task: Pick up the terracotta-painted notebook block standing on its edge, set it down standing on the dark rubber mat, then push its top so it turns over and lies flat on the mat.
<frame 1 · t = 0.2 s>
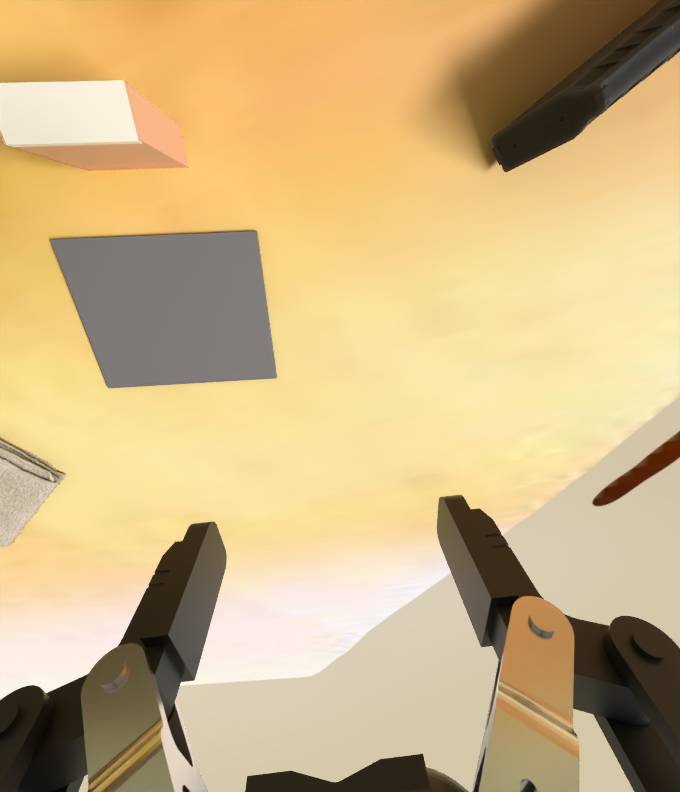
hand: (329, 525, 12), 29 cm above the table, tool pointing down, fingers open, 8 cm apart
mat: (177, 315, 36), on the table
washcloth: (2, 484, 45), on the table
notebook: (134, 149, 29), on the table
magazine: (646, 35, 28), on the table
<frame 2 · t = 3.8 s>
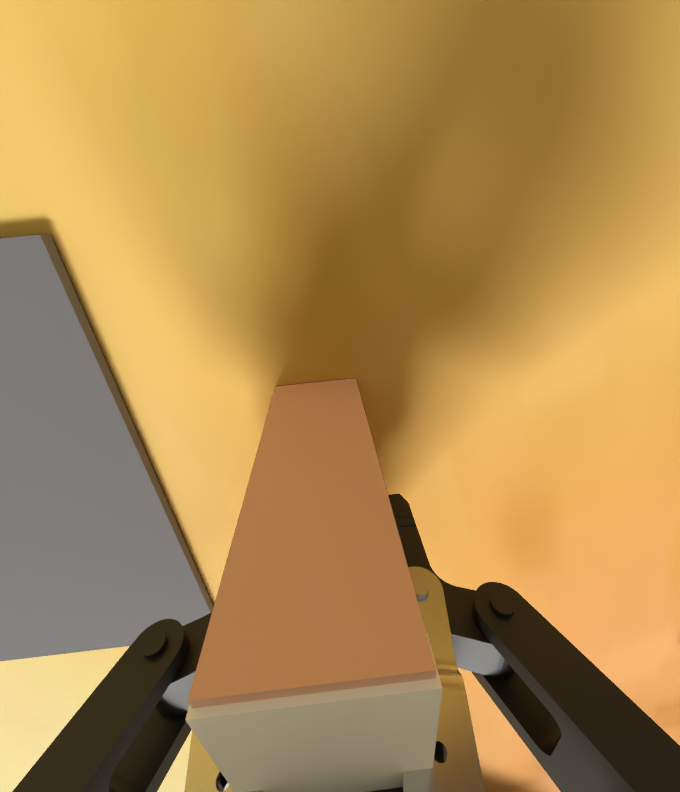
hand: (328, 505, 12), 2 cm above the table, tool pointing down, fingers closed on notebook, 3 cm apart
notebook: (327, 476, 14), on the table, touching gripper
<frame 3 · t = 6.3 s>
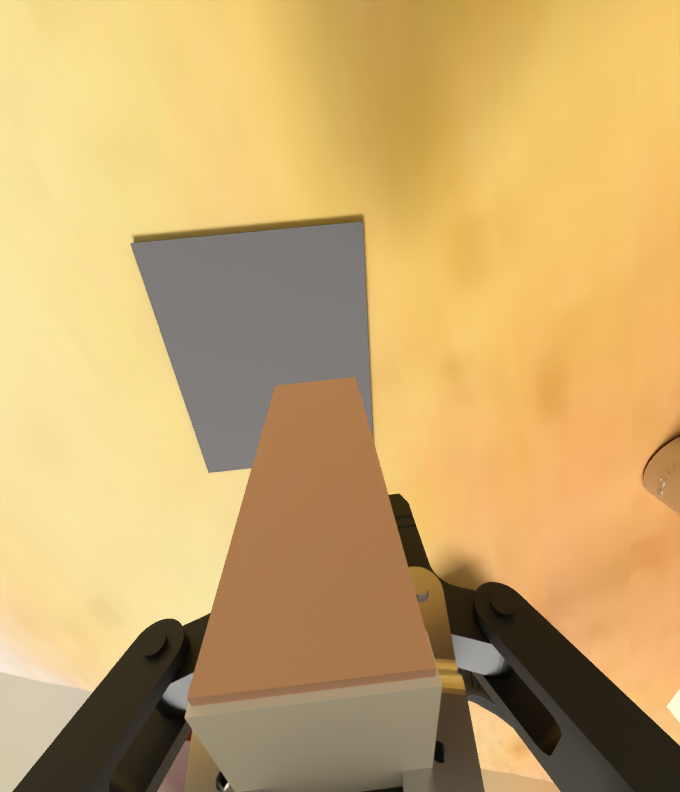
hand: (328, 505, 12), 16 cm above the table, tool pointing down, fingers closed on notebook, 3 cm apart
mat: (273, 365, 27), on the table
notebook: (327, 475, 14), point 15 cm above the table, touching gripper
magazine: (473, 634, 48), on the table
when the fingers open (3 cm above the table, at t = 8.9 s): notebook stays where it is, resting on mat.
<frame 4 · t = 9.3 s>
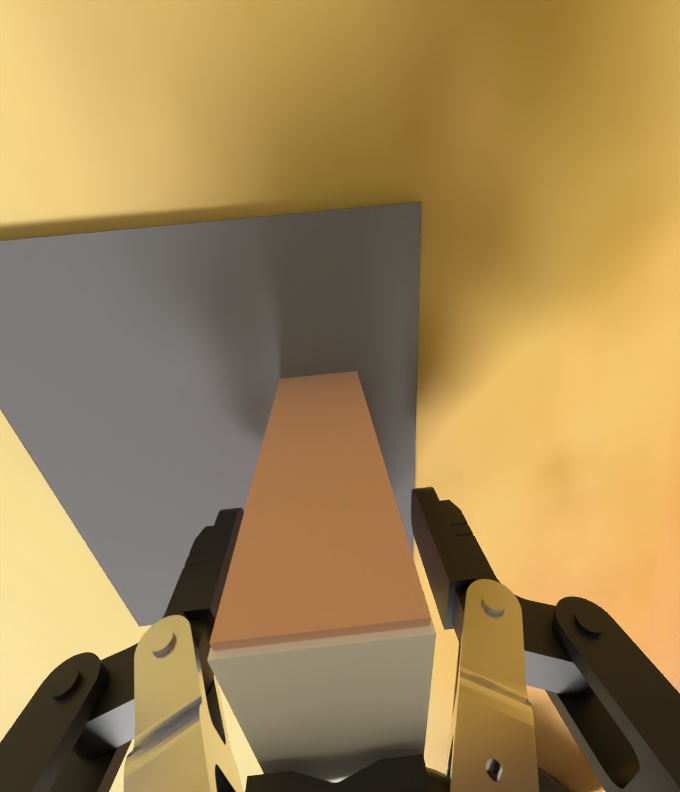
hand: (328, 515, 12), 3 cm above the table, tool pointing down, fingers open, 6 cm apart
mat: (239, 472, 15), on the table
notebook: (329, 467, 14), resting on mat
magazine: (527, 769, 36), on the table
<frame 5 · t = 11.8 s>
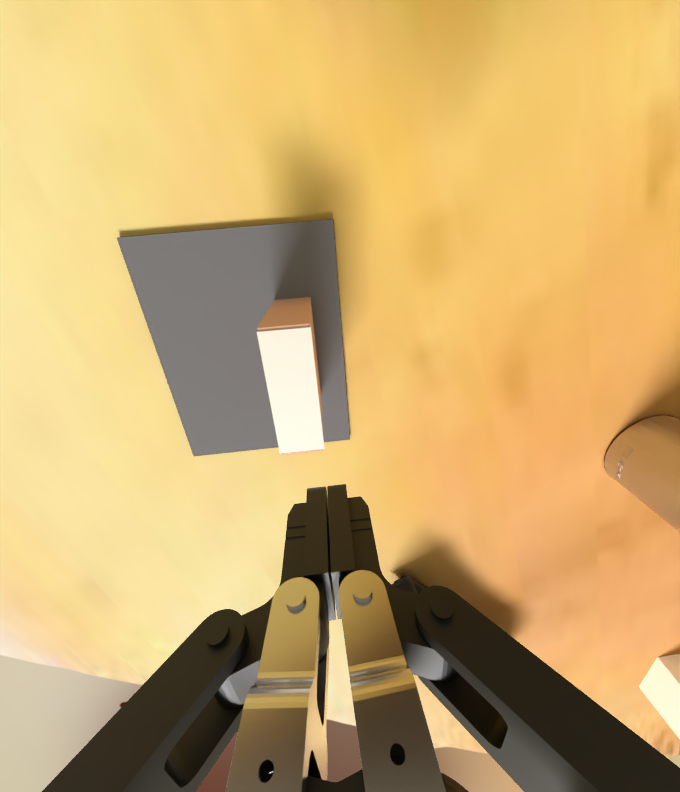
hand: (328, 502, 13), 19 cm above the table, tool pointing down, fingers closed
mat: (253, 354, 29), on the table
milk: (674, 667, 65), on the table
notebook: (299, 350, 28), resting on mat
magazine: (450, 614, 50), on the table
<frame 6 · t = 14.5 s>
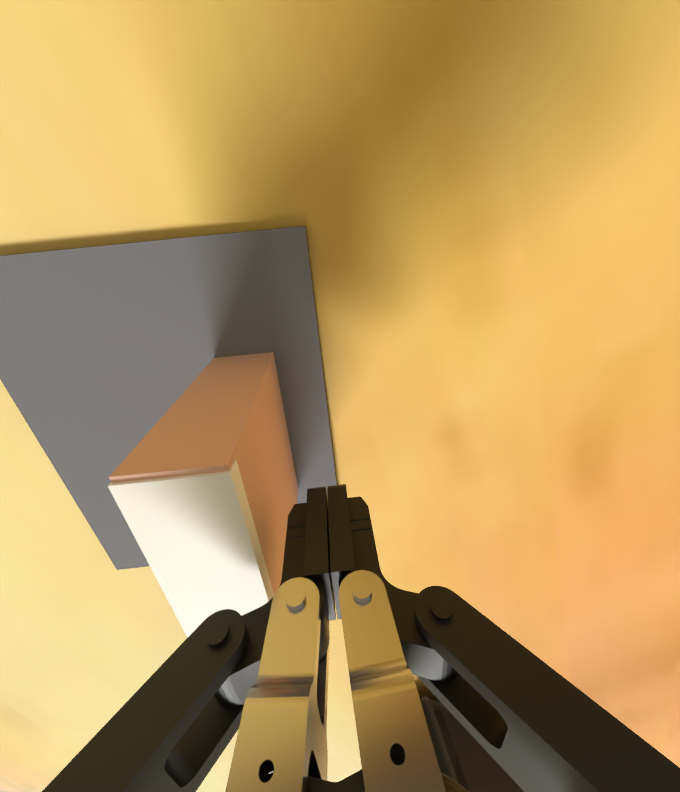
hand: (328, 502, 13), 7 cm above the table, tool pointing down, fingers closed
mat: (191, 434, 18), on the table
notebook: (260, 430, 18), resting on mat, touching gripper
magazine: (478, 724, 39), on the table
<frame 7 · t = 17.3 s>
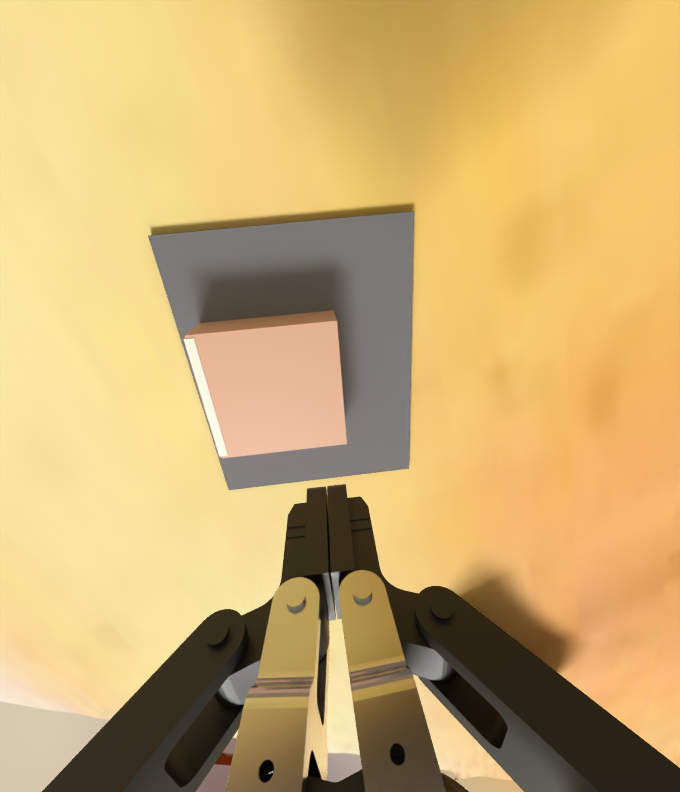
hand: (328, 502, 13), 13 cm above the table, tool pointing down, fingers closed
mat: (304, 373, 24), on the table
notebook: (340, 379, 23), point 2 cm above the table, tilted 90°, touching mat
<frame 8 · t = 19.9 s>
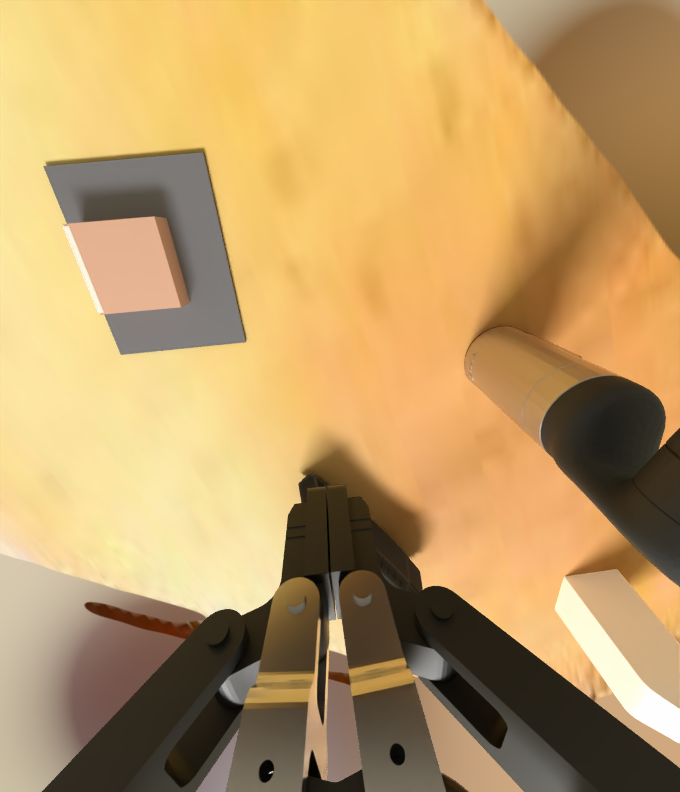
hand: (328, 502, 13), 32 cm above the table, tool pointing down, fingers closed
mat: (158, 265, 37), on the table
milk: (583, 588, 72), on the table
notebook: (173, 263, 36), point 2 cm above the table, tilted 90°, touching mat
magazine: (362, 520, 58), on the table
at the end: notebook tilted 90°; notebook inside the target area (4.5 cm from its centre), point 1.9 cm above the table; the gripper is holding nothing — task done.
